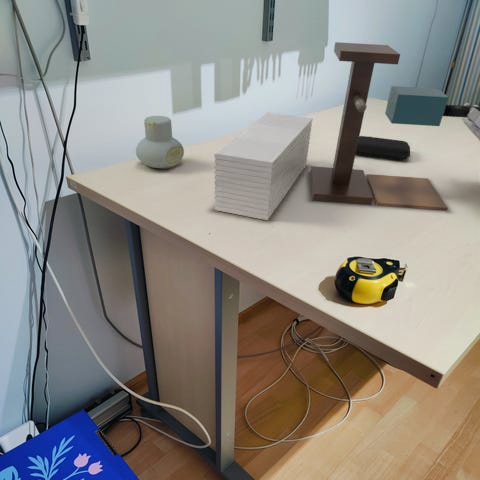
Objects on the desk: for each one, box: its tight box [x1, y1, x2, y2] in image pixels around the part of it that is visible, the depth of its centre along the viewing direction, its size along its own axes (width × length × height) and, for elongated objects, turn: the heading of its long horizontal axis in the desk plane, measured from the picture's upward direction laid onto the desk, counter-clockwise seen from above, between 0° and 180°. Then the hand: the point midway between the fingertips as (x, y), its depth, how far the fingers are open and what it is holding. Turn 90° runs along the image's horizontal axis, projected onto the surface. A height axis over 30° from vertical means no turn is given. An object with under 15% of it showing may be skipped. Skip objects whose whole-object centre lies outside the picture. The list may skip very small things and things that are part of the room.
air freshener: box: [135, 115, 185, 169], centre depth 96 cm, size 11×8×10 cm
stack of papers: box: [214, 112, 313, 221], centre depth 88 cm, size 32×11×11 cm, turn 160°
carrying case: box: [356, 135, 411, 161], centre depth 111 cm, size 11×3×15 cm
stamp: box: [384, 85, 480, 127], centre depth 81 cm, size 18×7×5 cm, turn 85°
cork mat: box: [365, 173, 448, 212], centre depth 92 cm, size 14×16×1 cm
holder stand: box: [309, 41, 401, 206], centre depth 84 cm, size 12×18×26 cm, turn 175°
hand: (466, 109), depth 81 cm, fingers closed on stamp
